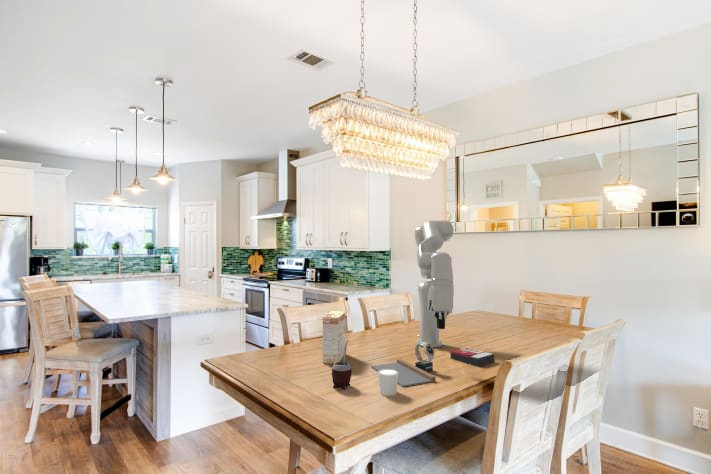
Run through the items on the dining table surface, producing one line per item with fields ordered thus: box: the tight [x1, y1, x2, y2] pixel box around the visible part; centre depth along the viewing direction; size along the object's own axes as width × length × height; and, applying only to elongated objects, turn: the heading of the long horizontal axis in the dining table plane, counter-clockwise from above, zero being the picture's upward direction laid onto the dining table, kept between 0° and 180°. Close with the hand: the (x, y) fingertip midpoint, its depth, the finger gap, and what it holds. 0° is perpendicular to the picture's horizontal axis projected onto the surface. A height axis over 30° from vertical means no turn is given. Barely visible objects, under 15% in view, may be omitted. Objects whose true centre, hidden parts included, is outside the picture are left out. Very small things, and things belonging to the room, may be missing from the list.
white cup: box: [377, 369, 398, 397], centre depth 132 cm, size 7×7×7 cm
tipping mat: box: [370, 358, 437, 388], centre depth 150 cm, size 24×14×2 cm, turn 25°
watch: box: [414, 342, 436, 373], centre depth 155 cm, size 6×8×11 cm
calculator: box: [450, 347, 495, 368], centre depth 169 cm, size 11×4×15 cm
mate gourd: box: [331, 339, 353, 391], centre depth 138 cm, size 8×8×15 cm
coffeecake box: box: [322, 310, 346, 365], centre depth 171 cm, size 15×7×20 cm, turn 168°
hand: (440, 328), depth 158 cm, fingers closed
